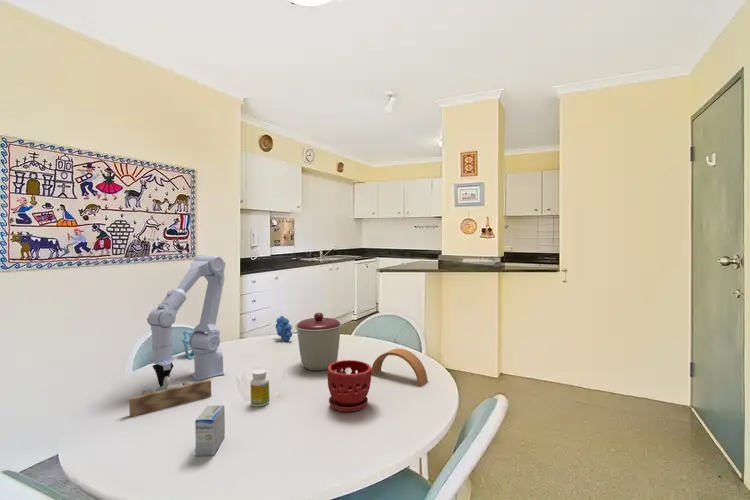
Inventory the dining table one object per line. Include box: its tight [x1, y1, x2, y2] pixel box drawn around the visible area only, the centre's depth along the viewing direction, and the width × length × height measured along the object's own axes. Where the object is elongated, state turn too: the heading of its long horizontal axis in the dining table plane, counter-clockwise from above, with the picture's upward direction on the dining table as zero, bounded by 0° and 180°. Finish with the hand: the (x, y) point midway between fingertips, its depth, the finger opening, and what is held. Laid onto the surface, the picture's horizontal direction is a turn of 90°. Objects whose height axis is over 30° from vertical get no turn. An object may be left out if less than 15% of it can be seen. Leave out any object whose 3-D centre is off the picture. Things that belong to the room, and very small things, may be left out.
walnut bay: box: [128, 378, 212, 418], centre depth 121 cm, size 22×10×5 cm, turn 129°
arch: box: [371, 348, 428, 387], centre depth 138 cm, size 6×20×10 cm, turn 56°
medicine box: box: [194, 404, 226, 457], centre depth 94 cm, size 8×4×9 cm, turn 5°
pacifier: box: [154, 376, 171, 392], centre depth 123 cm, size 7×6×6 cm
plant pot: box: [327, 359, 372, 413], centre depth 116 cm, size 13×13×12 cm
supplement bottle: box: [250, 369, 270, 407], centre depth 118 cm, size 5×5×10 cm
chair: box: [181, 329, 194, 360], centre depth 166 cm, size 8×8×12 cm
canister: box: [294, 312, 343, 371], centre depth 151 cm, size 18×18×21 cm
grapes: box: [275, 315, 293, 342], centre depth 187 cm, size 12×7×12 cm, turn 51°
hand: (163, 386), depth 127 cm, fingers closed
